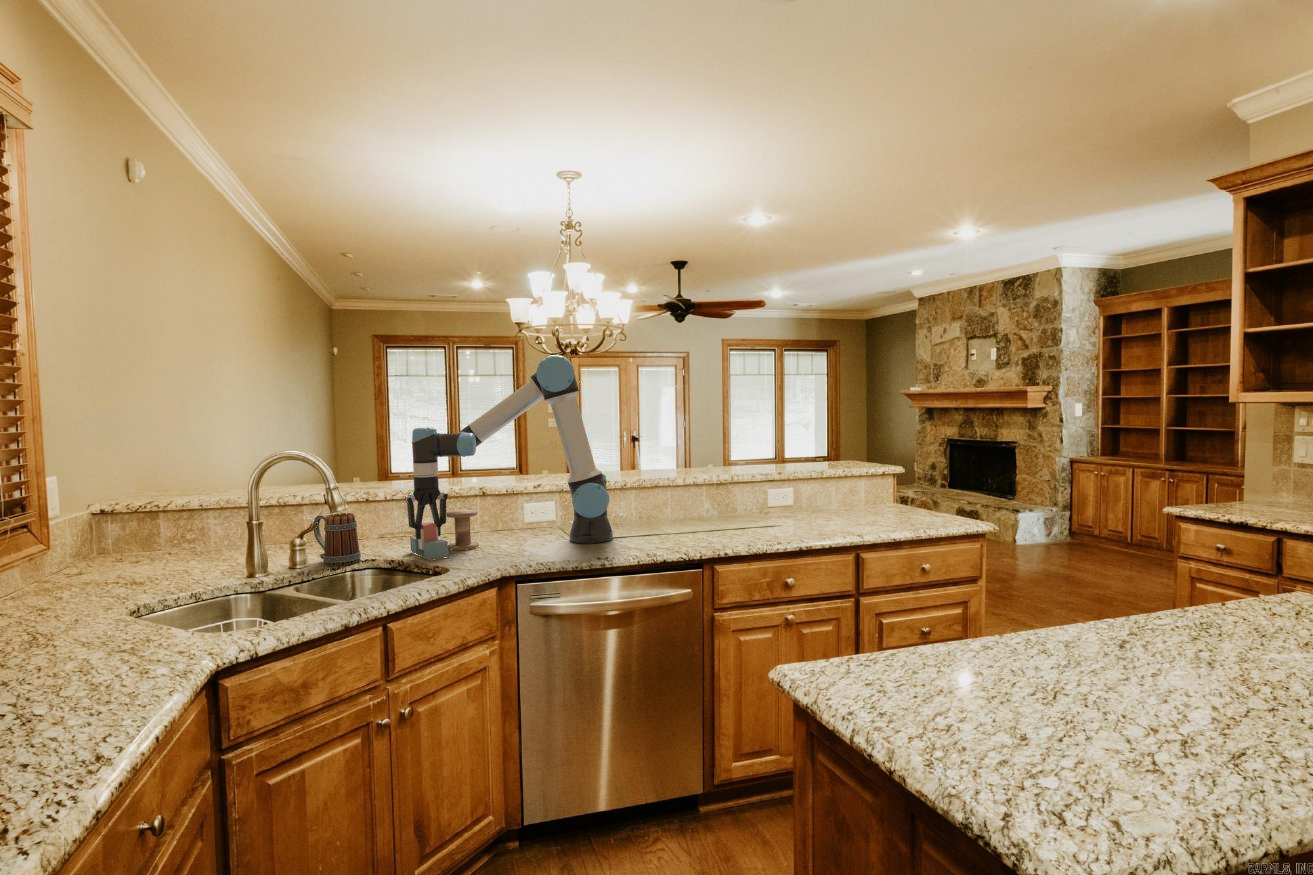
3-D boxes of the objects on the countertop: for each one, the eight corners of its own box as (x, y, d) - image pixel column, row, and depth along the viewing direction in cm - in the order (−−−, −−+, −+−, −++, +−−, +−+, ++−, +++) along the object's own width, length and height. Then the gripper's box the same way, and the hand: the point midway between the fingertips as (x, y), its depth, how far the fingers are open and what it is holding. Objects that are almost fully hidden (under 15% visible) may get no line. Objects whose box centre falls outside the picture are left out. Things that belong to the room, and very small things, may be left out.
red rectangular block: (437, 548, 219) (436, 524, 218) (424, 550, 216) (423, 525, 216) (432, 546, 222) (431, 522, 221) (420, 548, 219) (419, 524, 219)
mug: (368, 559, 214) (366, 512, 214) (343, 567, 205) (340, 518, 204) (329, 557, 220) (327, 511, 219) (303, 564, 210) (300, 516, 209)
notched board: (448, 557, 215) (447, 541, 215) (429, 560, 211) (429, 544, 211) (428, 549, 227) (428, 534, 227) (410, 552, 223) (410, 537, 223)
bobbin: (483, 547, 229) (482, 512, 228) (455, 552, 223) (454, 515, 222) (470, 542, 237) (469, 508, 236) (443, 547, 230) (441, 512, 230)
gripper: (446, 472, 226) (449, 542, 227) (394, 477, 215) (397, 550, 216) (456, 474, 220) (458, 545, 221) (403, 479, 209) (406, 553, 210)
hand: (428, 547), depth 219 cm, fingers closed on red rectangular block, 4 cm apart
